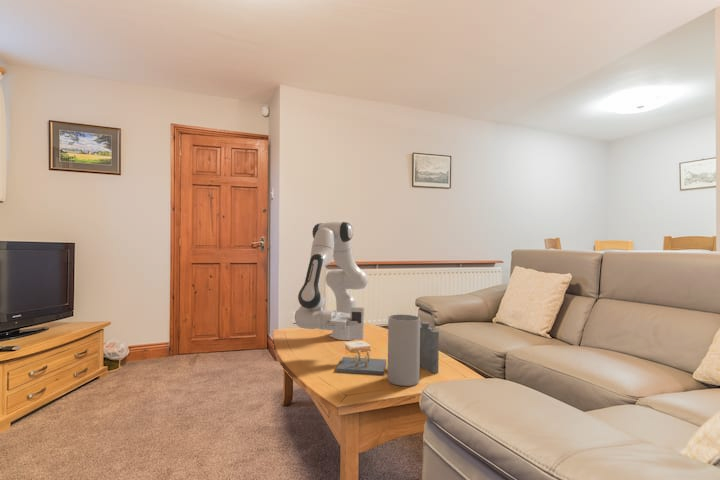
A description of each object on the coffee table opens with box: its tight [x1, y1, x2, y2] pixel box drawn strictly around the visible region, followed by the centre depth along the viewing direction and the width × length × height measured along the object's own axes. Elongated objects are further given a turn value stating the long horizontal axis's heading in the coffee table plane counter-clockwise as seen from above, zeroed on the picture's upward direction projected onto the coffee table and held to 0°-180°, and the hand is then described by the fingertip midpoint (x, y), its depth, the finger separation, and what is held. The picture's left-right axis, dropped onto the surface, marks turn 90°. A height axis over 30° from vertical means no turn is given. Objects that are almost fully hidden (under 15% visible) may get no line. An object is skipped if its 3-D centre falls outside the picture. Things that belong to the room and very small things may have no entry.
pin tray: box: [335, 349, 387, 376], centre depth 158 cm, size 16×20×6 cm
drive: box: [349, 306, 365, 341], centre depth 166 cm, size 4×6×14 cm, turn 82°
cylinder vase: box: [387, 314, 421, 387], centre depth 143 cm, size 12×12×25 cm
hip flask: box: [419, 321, 440, 375], centre depth 159 cm, size 16×4×20 cm, turn 36°
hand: (358, 321), depth 166 cm, fingers closed on drive, 4 cm apart
